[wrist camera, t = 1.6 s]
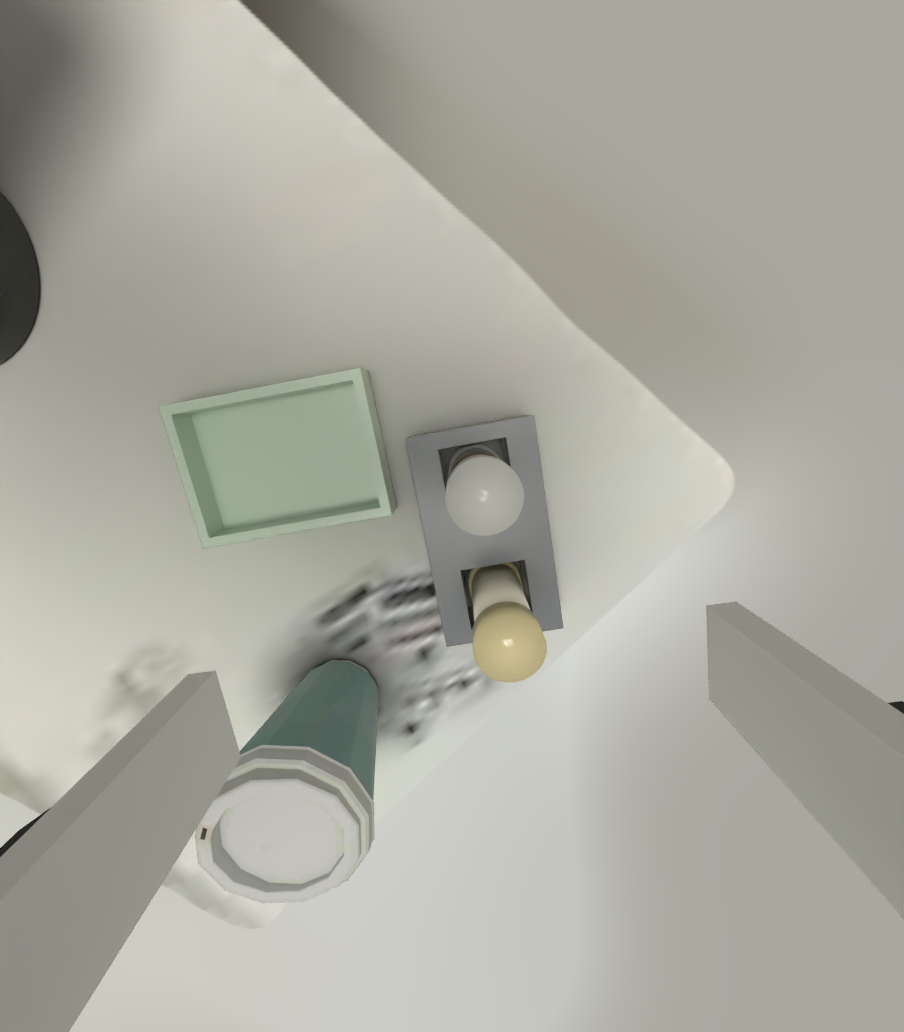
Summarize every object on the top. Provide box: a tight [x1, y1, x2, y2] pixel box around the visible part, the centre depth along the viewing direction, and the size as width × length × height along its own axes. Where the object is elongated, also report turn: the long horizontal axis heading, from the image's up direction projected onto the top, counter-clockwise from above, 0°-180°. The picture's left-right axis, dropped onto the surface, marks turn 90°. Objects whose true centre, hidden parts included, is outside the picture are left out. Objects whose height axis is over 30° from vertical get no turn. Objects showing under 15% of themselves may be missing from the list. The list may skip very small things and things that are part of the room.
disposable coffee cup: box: [195, 660, 378, 903], centre depth 33 cm, size 11×11×15 cm
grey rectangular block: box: [405, 415, 563, 647], centre depth 35 cm, size 16×9×4 cm, turn 10°
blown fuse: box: [445, 444, 524, 536], centre depth 30 cm, size 4×4×12 cm
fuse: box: [468, 562, 547, 682], centre depth 32 cm, size 4×4×12 cm
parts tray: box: [158, 368, 397, 548], centre depth 34 cm, size 11×15×3 cm
